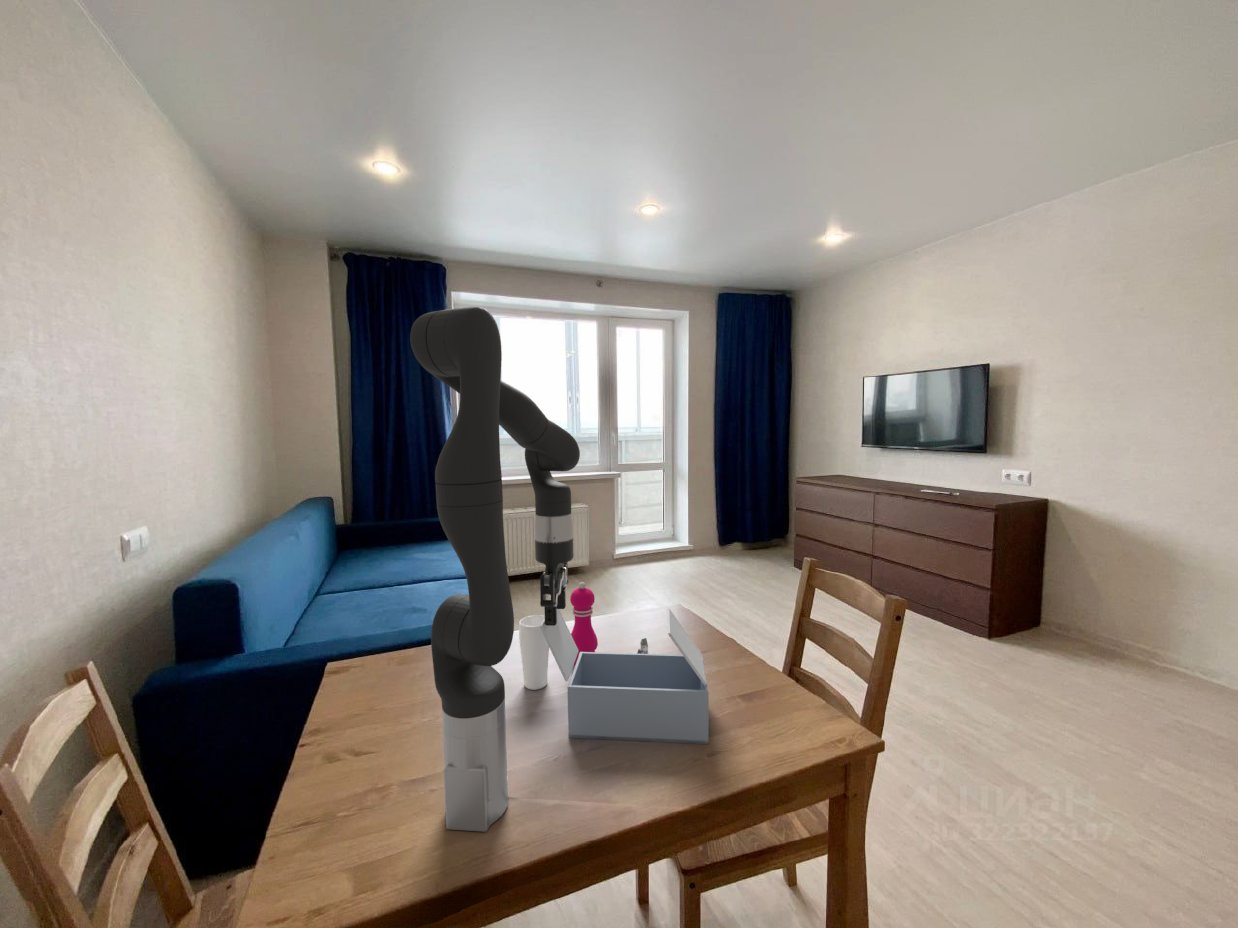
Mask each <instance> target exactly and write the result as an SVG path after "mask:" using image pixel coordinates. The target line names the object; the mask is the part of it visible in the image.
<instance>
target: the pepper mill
mask: <svg viewBox="0 0 1238 928" xmlns="http://www.w3.org/2000/svg"><path fill="white" fill-rule="evenodd" d="M569 601H570V604H571V606H572V615H573V616H574V624H573V629H572V631H571V632H570V633H571V636H572V638H573V640H574V642H575V644H576V646H577V648H578V650H579V651H578V654H577V657H576V660H575V662H574V665H573V666H575V665H576V662H577V659H578V656H579V653H580V652H596V650H597V649H598V645H599V643H598V642H599V641H598V636H597V634H596V632H595V630H594V628H593V625H592V615H593V613H594V611H593V610H594V609H593V605H594V604H595V593H594V591H592V590H591V589H590V588H588V587H587V584H586V583H585V582H584V581H581V582H579V584H578V588H576V589H573V591H572V592H571V594H570V600H569Z"/></svg>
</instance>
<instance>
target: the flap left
mask: <svg viewBox="0 0 1238 928" xmlns="http://www.w3.org/2000/svg"><path fill="white" fill-rule="evenodd" d="M540 628H541V631H542V633H543V635H544V637H545V639H546V641H547V643H548V645H549V651H550V652H551V655H552V656H553V657H554V660H555V662H556V665H557V666H558V668H559V671H560V673H561V674H562V678H564V680H565V682H567V681H569V680H570V679H569V678H570V677H571V673H572V672H573V669H574V668H573V667H574V666H575V665H574V662H575V660H576V657H577V654H578V651H579V650H578V648H577V646H576V644H575V642H574V640H573V638H572V636H571V633H572V632H570V629H569V627H568V625H567V623H566V621H565V619H564V617H563V614H562V613H561V609H557V623H556V625H555V626H547V625H545V618H544V620H543V621H542V623H541V625H540Z"/></svg>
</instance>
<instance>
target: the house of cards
mask: <svg viewBox="0 0 1238 928" xmlns="http://www.w3.org/2000/svg"><path fill="white" fill-rule="evenodd" d="M639 644H640V648H638V650H637V653H636V654H650V653H649V643H648V639H647V637H645V638H642V639H640V643H639Z"/></svg>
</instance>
